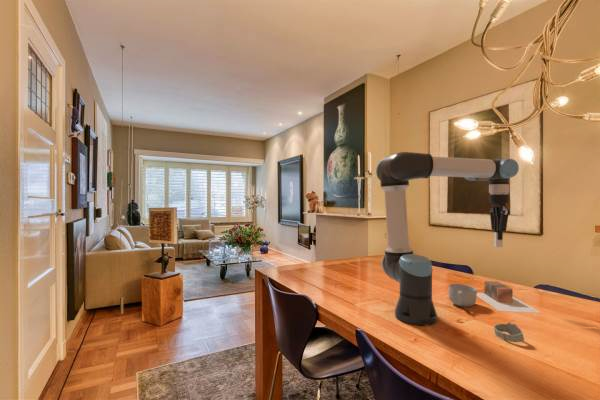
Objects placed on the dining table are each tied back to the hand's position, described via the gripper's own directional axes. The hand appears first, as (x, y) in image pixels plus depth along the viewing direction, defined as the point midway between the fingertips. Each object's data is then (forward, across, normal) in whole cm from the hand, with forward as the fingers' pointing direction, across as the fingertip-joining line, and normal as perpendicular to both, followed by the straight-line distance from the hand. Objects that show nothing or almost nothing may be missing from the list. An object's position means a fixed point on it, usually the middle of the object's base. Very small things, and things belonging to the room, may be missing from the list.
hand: (498, 246), depth 135 cm
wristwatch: (+25, -38, +16) cm, 48 cm away
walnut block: (+21, -3, -2) cm, 21 cm away
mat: (+24, -2, -2) cm, 25 cm away
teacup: (+25, -8, +18) cm, 32 cm away
